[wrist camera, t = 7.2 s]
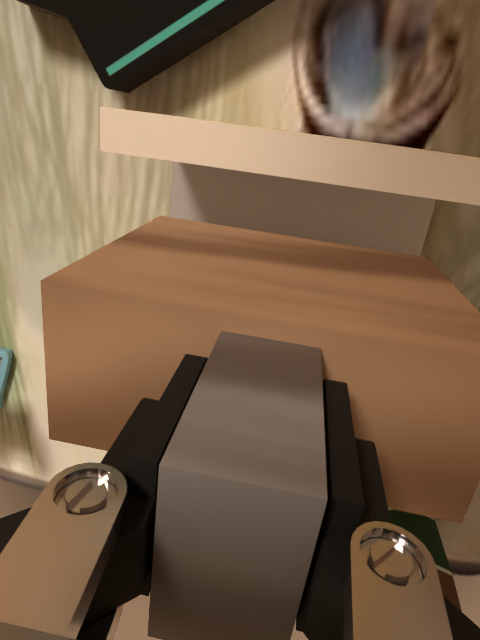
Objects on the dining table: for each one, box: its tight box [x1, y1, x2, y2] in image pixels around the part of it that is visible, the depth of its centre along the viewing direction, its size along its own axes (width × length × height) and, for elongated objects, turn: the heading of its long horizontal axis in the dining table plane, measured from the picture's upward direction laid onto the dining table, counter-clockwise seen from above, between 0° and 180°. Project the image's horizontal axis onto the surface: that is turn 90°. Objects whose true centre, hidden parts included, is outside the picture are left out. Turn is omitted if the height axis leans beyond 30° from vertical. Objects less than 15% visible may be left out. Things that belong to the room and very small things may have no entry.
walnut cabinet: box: [41, 216, 480, 640], centre depth 14 cm, size 5×12×15 cm, turn 83°
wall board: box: [100, 106, 480, 256], centre depth 31 cm, size 10×20×18 cm, turn 83°
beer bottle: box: [388, 508, 462, 612], centre depth 39 cm, size 8×8×24 cm
